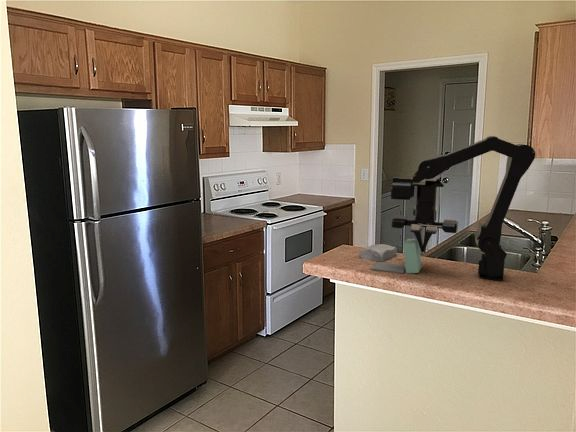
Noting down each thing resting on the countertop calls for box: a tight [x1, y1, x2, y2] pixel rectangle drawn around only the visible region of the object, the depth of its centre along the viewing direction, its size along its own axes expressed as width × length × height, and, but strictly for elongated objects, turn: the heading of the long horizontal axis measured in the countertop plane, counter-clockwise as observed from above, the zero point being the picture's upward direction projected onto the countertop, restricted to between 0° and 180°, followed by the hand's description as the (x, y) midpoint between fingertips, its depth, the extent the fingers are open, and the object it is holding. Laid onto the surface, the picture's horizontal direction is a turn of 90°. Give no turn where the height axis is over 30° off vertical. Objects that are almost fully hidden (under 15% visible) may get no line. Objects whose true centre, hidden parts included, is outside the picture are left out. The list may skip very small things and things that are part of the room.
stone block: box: [358, 243, 398, 263], centre depth 163 cm, size 12×5×10 cm
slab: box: [402, 238, 423, 274], centre depth 147 cm, size 4×7×9 cm, turn 156°
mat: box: [370, 261, 406, 274], centre depth 150 cm, size 10×8×1 cm
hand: (422, 251), depth 145 cm, fingers closed
